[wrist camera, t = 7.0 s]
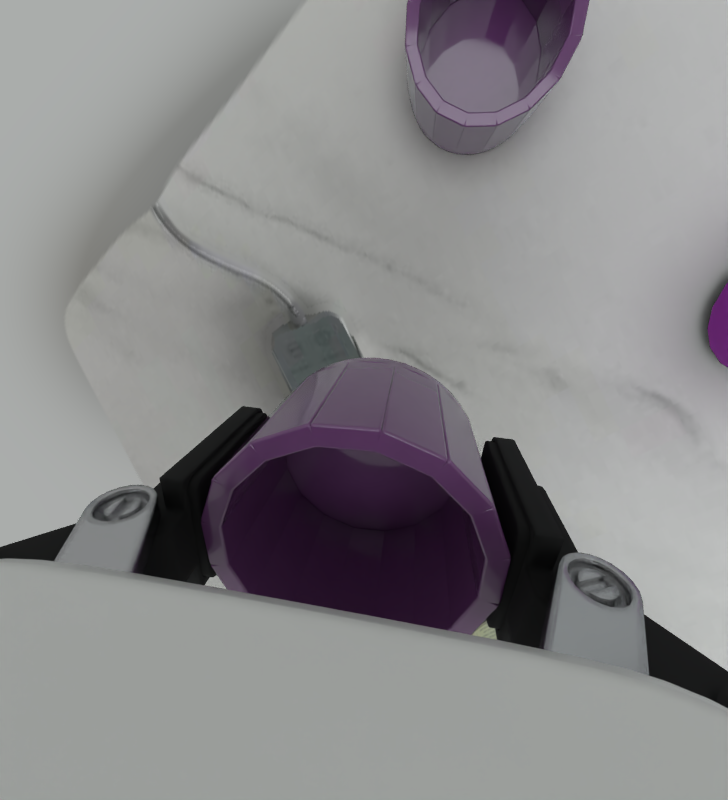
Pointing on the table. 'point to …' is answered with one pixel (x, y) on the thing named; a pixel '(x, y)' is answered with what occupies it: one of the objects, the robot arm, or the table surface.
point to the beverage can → (719, 327)
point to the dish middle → (362, 502)
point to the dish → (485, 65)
